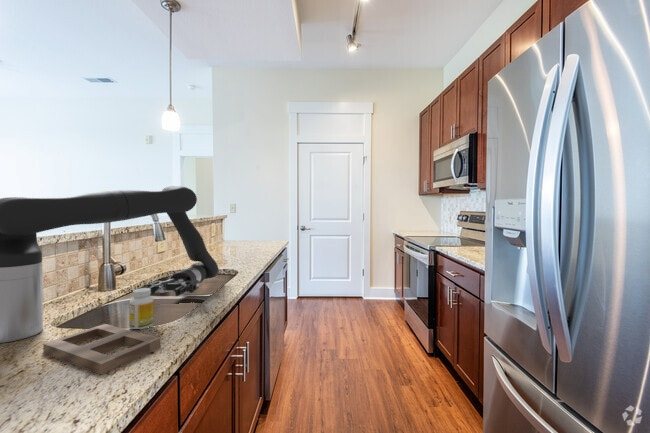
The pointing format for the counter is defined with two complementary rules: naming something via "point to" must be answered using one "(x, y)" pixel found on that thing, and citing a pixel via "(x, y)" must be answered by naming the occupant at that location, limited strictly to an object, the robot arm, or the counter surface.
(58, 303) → the counter surface
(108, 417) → the counter surface
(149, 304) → the supplement bottle
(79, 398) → the counter surface
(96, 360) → the brown flat two-opening frame
